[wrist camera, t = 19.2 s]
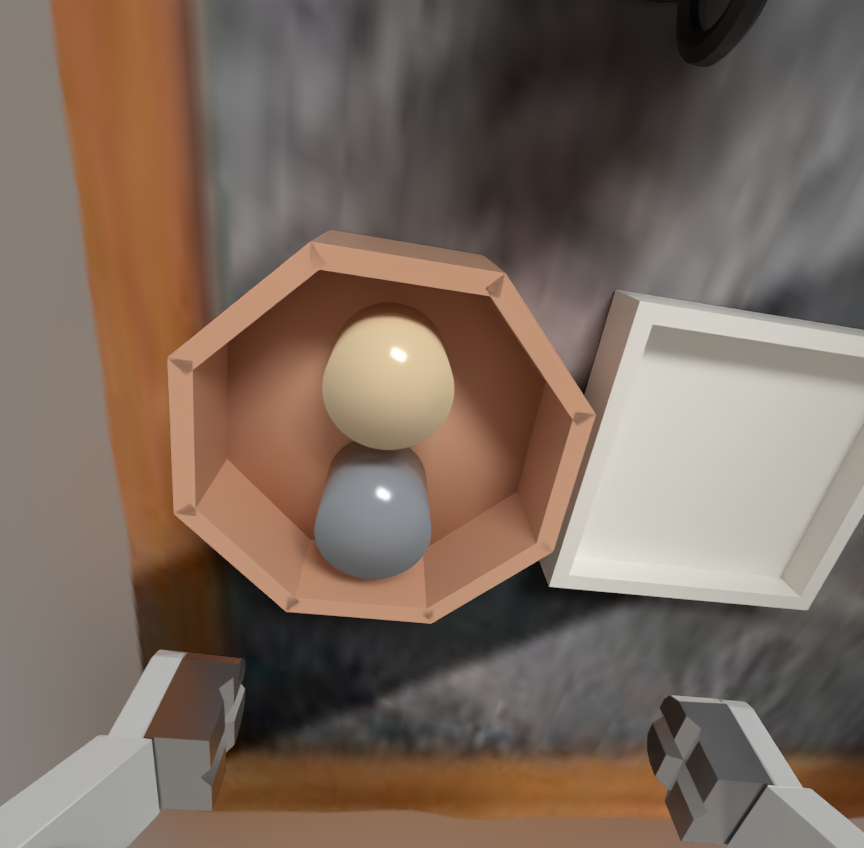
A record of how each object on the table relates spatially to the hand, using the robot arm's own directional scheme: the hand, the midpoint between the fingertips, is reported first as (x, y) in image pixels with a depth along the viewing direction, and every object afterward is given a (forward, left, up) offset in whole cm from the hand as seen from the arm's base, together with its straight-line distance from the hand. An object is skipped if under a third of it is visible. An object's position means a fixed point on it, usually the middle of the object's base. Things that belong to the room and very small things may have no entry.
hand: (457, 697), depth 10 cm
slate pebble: (+2, +4, -14) cm, 15 cm away
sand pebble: (+2, -2, -14) cm, 15 cm away
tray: (-14, +1, -15) cm, 21 cm away
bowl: (+2, +1, -15) cm, 15 cm away
